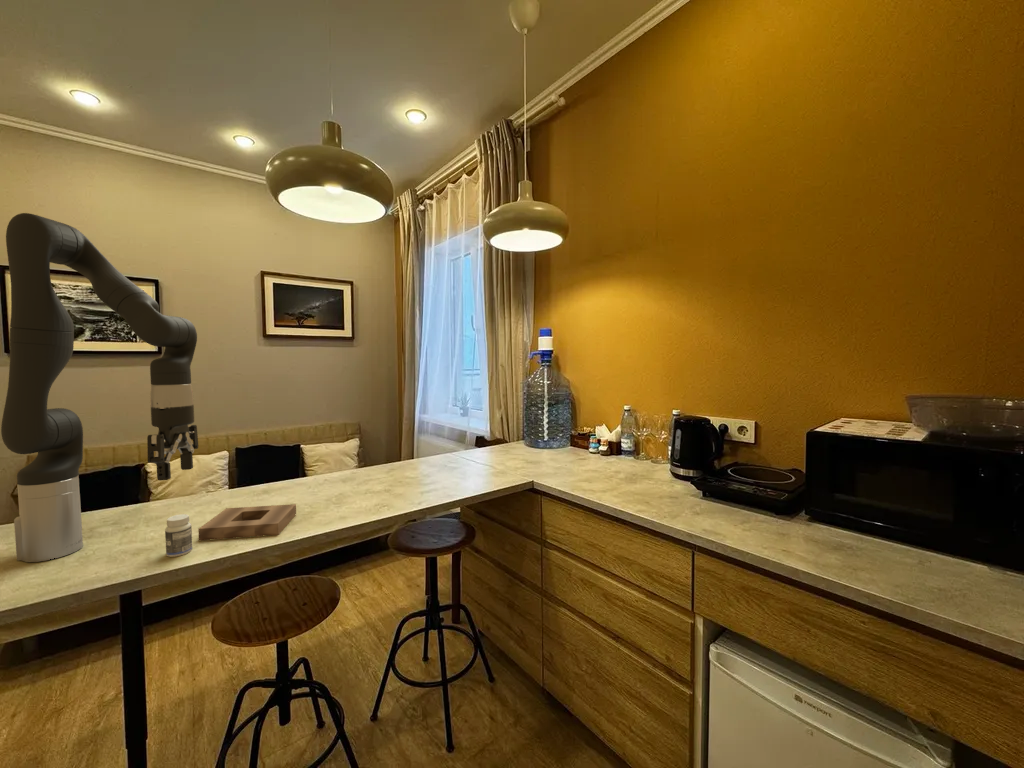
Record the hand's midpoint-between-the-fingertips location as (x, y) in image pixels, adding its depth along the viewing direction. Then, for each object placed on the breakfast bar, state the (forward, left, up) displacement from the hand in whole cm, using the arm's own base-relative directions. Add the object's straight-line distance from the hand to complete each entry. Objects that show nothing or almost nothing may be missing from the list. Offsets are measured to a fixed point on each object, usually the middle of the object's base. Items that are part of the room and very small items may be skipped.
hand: (176, 474), depth 93 cm
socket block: (+10, +13, -18) cm, 25 cm away
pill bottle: (0, 0, -19) cm, 19 cm away
